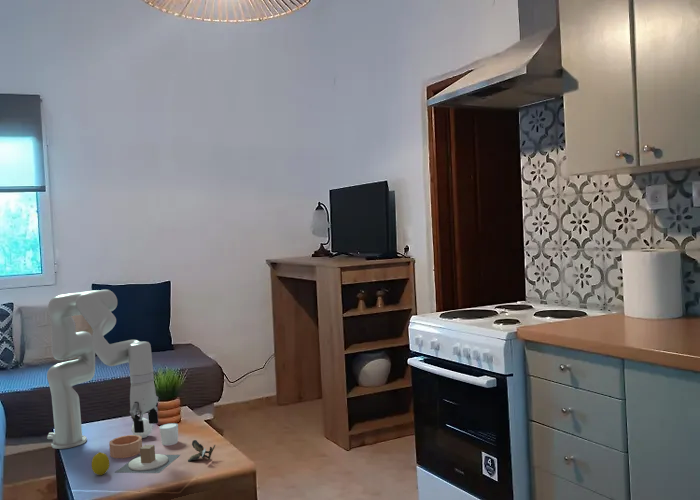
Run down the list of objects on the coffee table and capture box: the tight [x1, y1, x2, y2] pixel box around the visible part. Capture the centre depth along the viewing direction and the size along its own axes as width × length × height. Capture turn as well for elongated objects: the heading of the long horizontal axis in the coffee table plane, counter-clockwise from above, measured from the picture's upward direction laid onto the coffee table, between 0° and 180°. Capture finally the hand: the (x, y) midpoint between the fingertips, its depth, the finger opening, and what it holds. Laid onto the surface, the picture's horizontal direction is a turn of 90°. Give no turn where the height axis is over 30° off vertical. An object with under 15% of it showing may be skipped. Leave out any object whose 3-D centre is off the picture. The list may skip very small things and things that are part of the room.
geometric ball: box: [131, 417, 153, 439], centre depth 249 cm, size 8×8×8 cm
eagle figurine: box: [187, 439, 216, 462], centre depth 220 cm, size 8×7×9 cm
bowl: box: [108, 434, 143, 459], centre depth 231 cm, size 11×11×5 cm
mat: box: [114, 454, 181, 474], centre depth 219 cm, size 16×16×1 cm
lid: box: [128, 444, 168, 471], centre depth 219 cm, size 13×13×6 cm
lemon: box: [91, 451, 110, 476], centre depth 211 cm, size 6×6×8 cm
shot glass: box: [158, 422, 179, 446], centre depth 239 cm, size 7×7×7 cm
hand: (146, 427), depth 218 cm, fingers open, 9 cm apart
